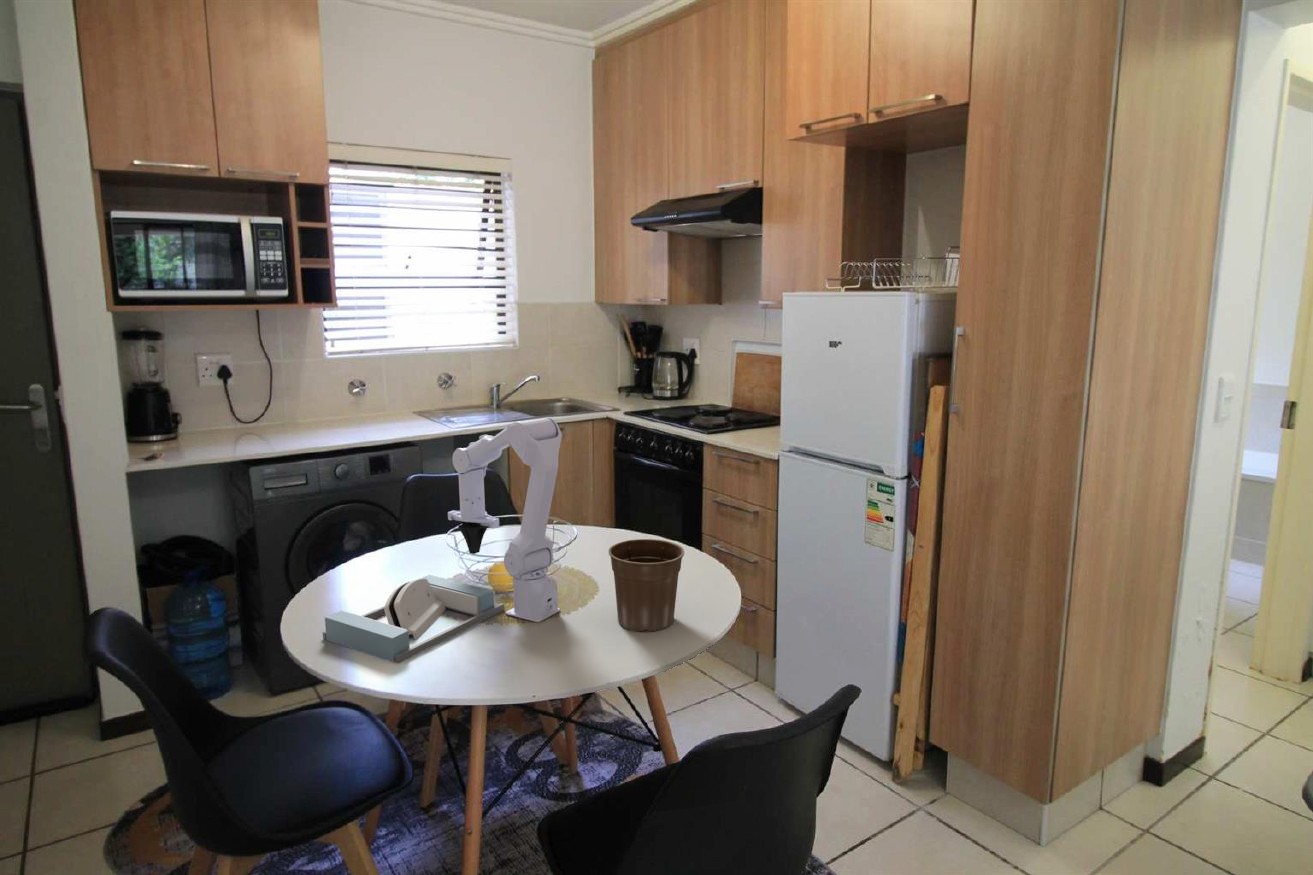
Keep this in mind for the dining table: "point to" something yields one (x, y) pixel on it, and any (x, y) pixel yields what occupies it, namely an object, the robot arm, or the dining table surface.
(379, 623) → the vise
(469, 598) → the block
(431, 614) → the hinge
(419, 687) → the dining table surface
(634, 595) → the plant pot
